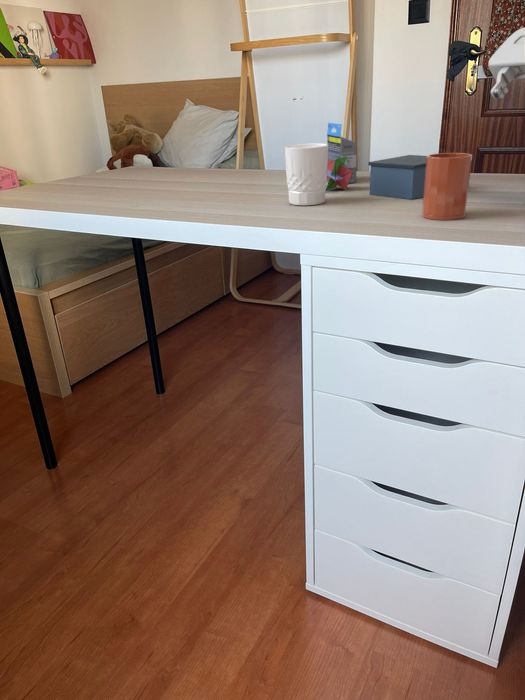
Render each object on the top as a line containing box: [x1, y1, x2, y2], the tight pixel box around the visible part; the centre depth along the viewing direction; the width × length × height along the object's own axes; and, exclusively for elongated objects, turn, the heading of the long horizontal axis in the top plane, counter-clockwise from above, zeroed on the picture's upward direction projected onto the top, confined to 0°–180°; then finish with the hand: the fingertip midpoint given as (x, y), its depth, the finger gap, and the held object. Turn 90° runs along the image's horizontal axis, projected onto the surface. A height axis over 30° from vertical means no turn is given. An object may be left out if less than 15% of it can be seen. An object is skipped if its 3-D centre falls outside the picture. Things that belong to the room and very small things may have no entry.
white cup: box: [283, 142, 328, 207], centre depth 97 cm, size 8×8×10 cm
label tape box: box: [326, 121, 358, 184], centre depth 117 cm, size 9×4×12 cm, turn 13°
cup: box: [421, 152, 473, 221], centre depth 81 cm, size 6×6×9 cm
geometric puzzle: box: [325, 156, 353, 192], centre depth 108 cm, size 7×7×8 cm
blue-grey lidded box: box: [367, 154, 427, 200], centre depth 102 cm, size 13×11×6 cm
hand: (519, 95), depth 79 cm, fingers open, 8 cm apart
